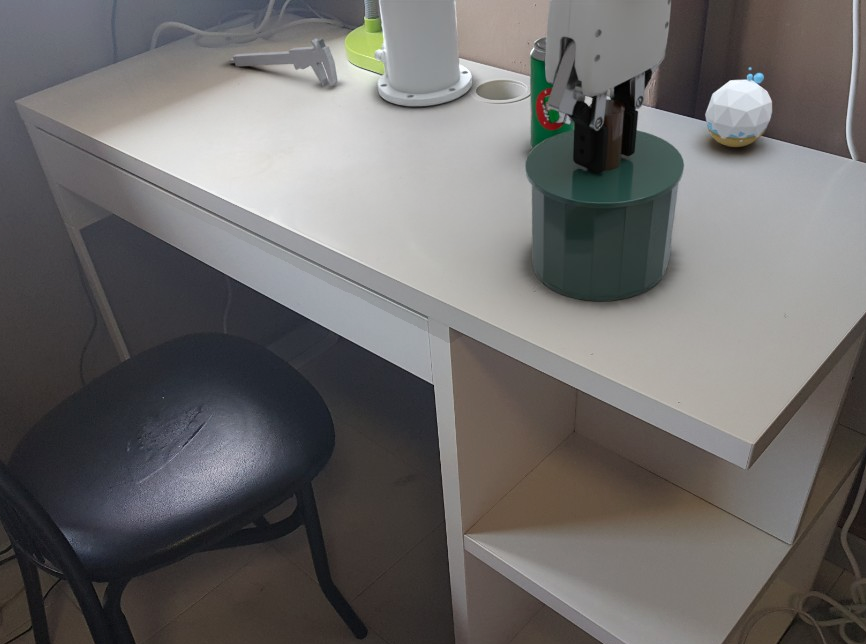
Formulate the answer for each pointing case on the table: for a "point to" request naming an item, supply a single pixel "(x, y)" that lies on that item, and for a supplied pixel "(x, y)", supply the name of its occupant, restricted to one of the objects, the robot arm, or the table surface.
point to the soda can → (543, 100)
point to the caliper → (296, 60)
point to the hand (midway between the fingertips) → (603, 156)
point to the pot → (601, 246)
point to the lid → (623, 176)
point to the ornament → (739, 112)
